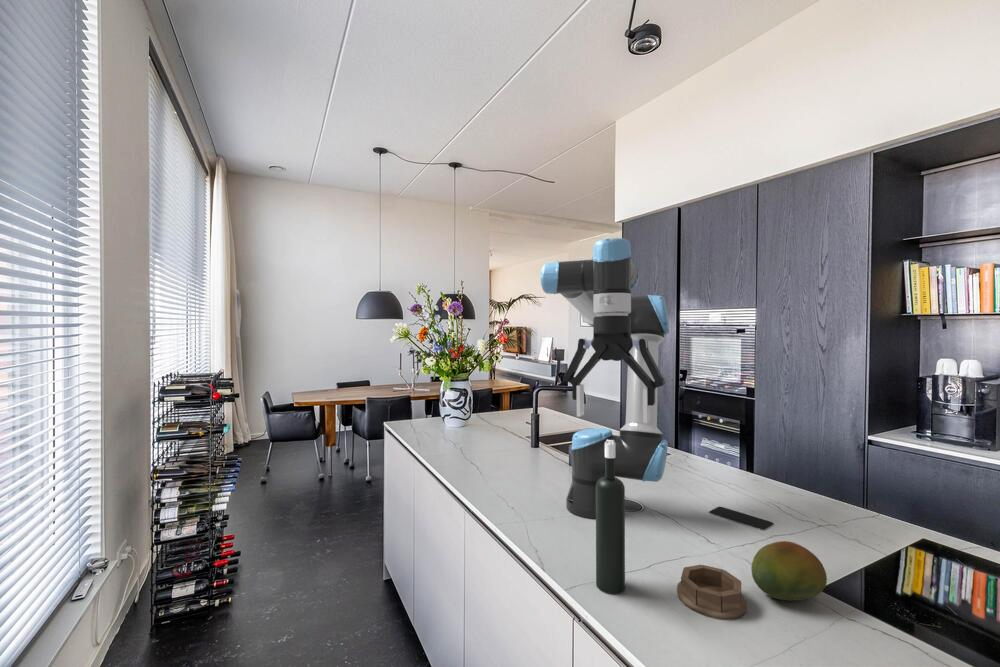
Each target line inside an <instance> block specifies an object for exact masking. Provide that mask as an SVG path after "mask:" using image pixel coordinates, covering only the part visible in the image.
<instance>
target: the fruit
mask: <svg viewBox="0 0 1000 667" xmlns="http://www.w3.org/2000/svg"><path fill="white" fill-rule="evenodd" d="M750 567H751V577H752V579H753V581H754V583H755V584H756V585H757V587H758V589H760V590H761V591H762V592H763V593H764V594H766V595H767V596H769V597H772V598H774V599H777V600H781V601H804V600H808V599H811V598H813V597H817V596H818V595H819V594H821V593H822V592H823V591H824V590H825V588H826V586H827V581H828V578H827V571H826V569H825V567H824V565H823V563H822V562H821V560H820V559H819V558H818V556H816V555H815V554H814V553H813V552H811V551H810V550H809V549H808V548H806V547H804V546H803V545H801V544H798V543H796V542H793V541H787V540H783V541H782V540H781V541H775V542H772V543H769V544H766V545H764V546H763V547H761V548H760V549H758V551H757V552H756V553H755V555H754V556H753V559H752V562H751V566H750Z"/></svg>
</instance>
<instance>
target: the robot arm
mask: <svg viewBox="0 0 1000 667" xmlns="http://www.w3.org/2000/svg"><path fill="white" fill-rule="evenodd" d="M631 249H632V248H631V242H630V241H629V240H628V239H626V238H620V237H616V238H615V237H613V238H605V239H604V238H603V239H600V240H597V241H596V242H595V243H594V245H593V250H592V252H593V253H592V258H591V259H584V260H583V259H581V260H568V261H567V260H565V261H564V260H563V261H560V260H559V261H558V260H557V261H553V262H549V263H548V262H547V263H544V265H543V266H542V268H541V271H540V285H541V288H542V289H541V290H542V291H543V292H544V293H545V294H548V295H551V294H552V295H557V294H560V295H562V296H563V298H565V300H566V301H568V302H569V303H570V304H571V305H572V306H573V307H574V308H575V309H577V311H578V312H579V314H580V316H581V318H582V320H583V321H584V322H585V323H586V324H588V325H589V326H590V327H592V328H593V330H592V331H593V332H592V334H593V335H592V336H593V337H592V339H587V338H579V339H578V341H577V349H576V351H575V354H574V355H573V357H572V359H571V362H570V364H569V365H568V368H567V370H566V372H565V374H564V376H563V380H564V382H567V383H570V385H571V387H572V389H571V390H572V394H571V395H572V396H571V397H572V400H574V401H576V417H579V418H580V417H582V416H585V384H581V383H582V382H583V380H584V379H585V378H586V377H587V375H588V374H589V373H590V372H591V371H592V370H593V369H594V367H595V366H596V365H597V364H598V363H599V362H600V361H601V360H602V361H615V362H619V361H623V362H624V363H625V364H626V365H627V377H626V384H627V385H626V403H625V404H626V405H625V407H626V408H625V424H624V425H623V426H622V427H621V428H620V429H619V435H614V434H613V431H612V429H610V428H605V427H595V428H586V429H581V430H579V431H576V432H575V433H573V435H572V441H571V447H570V448H571V478H572V479H571V484H570V486H569V488H568V489H569V490H568V493H567V496H566V499H565V501H566V502H565V507H566V509H567V510H568V512H570V513H572V514H573V515H575V516H578V517H582V518H588V519H596V483H597V481H598V480H599V479H600V478H602V477H605V442H606V441H607V440H614V442H615V478H619V479H620V478H621V479H629V480H636V481H642V482H654V483H655V482H656V483H657V482H659V481H660V480H662V479H663V476H664V472H665V467H666V463H667V462H666V461H667V456H668V445H669V444H668V443H669V442H668V441H667V440H666V439H664V438H663V432H662V431H661V430H660V429H659V428H658V388H661V387H663V386H664V385H665V384H666V381H665V379H664V377H663V375H662V373H661V371H660V369H659V345H660V344H661V343H663V342H664V341H665V335H668V334H670V322H669V321H670V320H669V316H668V315H669V314H668V307H667V302H666V299H665V297H664V296H662V295H655V294H654V295H653V294H652V295H650V294H647V295H632V294H631V293H632V291H631V290H633V289H635V287H636V286H637V284H638V283H639V281H640V272H639V268H638V266H637V264H636V263H635V262H634V261H632V255H633V254H632V251H631ZM590 347H592V348H593V349H594V353H593V354H592V355H591V356H590V358H589V359H588V360H587V362H586V363H585V364H584V365H583V367H582V368H581V369H580V370H579V372H577V371H578V369H579V366H580V364H581V362H582V360H583V358H584V356H585V354H586V352H587V350H589V349H590ZM576 373H577V374H576Z"/></svg>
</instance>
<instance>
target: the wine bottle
mask: <svg viewBox="0 0 1000 667" xmlns="http://www.w3.org/2000/svg"><path fill="white" fill-rule="evenodd" d="M625 488H626V487H625V484H624V482H623V481H622V480H621V479H620V478H619V477H615V442H614V440H607V441H606V442H605V477H602V478H600V479H599V480H598V481H597V483H596V518H595V585H596V588H597V589H598V588H599V589H598V590H600V592H603V593H605V594H609V595H618V594H619V595H620V594H621V593H623V592H624V591H625V590H626V533H625V532H626V522H625V521H626V518H625V517H626V511H625V510H626V505H625V504H626V503H625V500H626V494H625V493H626V489H625Z"/></svg>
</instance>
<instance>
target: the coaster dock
mask: <svg viewBox="0 0 1000 667" xmlns="http://www.w3.org/2000/svg"><path fill="white" fill-rule="evenodd" d="M676 595H677V597H678V599H679V601H680V602H681V603H682V604H683V605H684V606H686V607H687V608H688V609H689V610H691V611H694V612H695V613H697V614H700V615H702V616H705V617H709V618H713V619H718V620H735V619H740V618H742V617H743V616H745V615H746V614H747V611H748V601H747V599H746V597H745V596H744V595H743V593H742V581H741V580H740V579H738V577H736V576H734V574H733V575H732V573H730V572H728V571H727V570H724V569H722V568H718V567H714V566H709V565H706V564H695V565H690V566H684V567H683V569H682V572H681V576H680V581H679V582H678V583H677V585H676Z"/></svg>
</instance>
